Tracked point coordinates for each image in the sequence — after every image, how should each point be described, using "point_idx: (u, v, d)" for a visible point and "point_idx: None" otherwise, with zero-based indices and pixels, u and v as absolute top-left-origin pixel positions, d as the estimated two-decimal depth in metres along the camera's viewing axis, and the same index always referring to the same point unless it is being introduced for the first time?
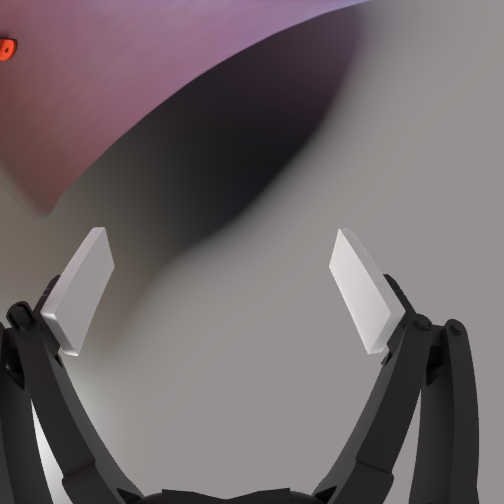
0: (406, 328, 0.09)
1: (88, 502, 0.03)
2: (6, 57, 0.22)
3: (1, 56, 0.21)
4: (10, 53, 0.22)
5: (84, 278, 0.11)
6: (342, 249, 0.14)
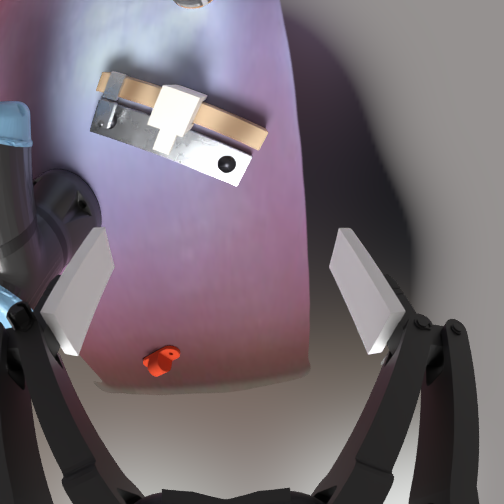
0: (406, 328, 0.09)
1: (88, 502, 0.03)
2: (177, 355, 0.57)
3: (172, 358, 0.57)
4: (177, 353, 0.56)
5: (84, 278, 0.11)
6: (342, 249, 0.14)
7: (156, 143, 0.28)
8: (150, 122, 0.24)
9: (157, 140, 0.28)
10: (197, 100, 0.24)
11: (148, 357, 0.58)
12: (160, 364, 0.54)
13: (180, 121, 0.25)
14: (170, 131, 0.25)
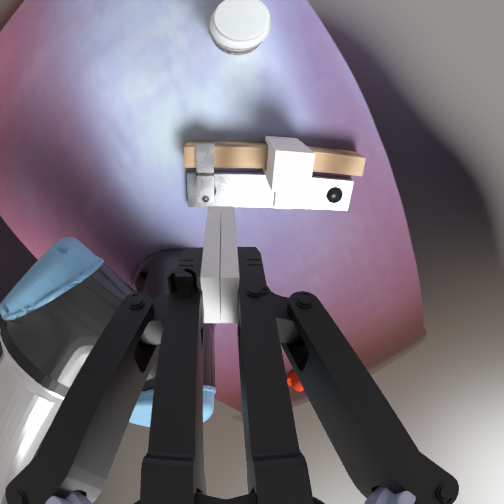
0: (240, 303, 0.10)
1: (159, 490, 0.04)
2: None
3: None
4: None
5: None
6: None
7: (276, 202, 0.32)
8: (274, 189, 0.28)
9: (276, 199, 0.32)
10: (313, 156, 0.26)
11: (289, 377, 0.63)
12: None
13: (303, 179, 0.27)
14: (296, 191, 0.28)
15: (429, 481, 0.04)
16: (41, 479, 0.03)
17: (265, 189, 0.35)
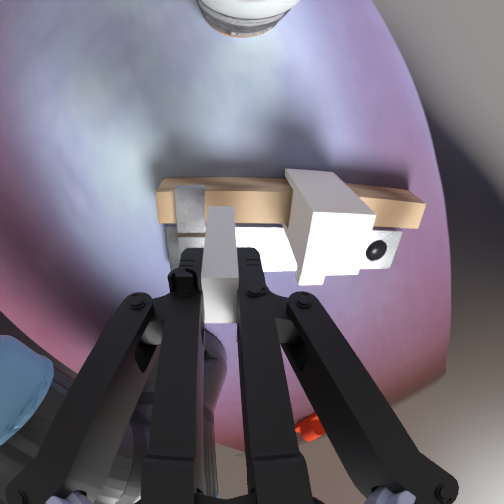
0: (239, 303, 0.10)
1: (159, 490, 0.04)
2: None
3: None
4: None
5: None
6: None
7: (302, 277, 0.21)
8: (306, 272, 0.17)
9: None
10: (373, 219, 0.15)
11: (298, 426, 0.52)
12: (315, 430, 0.48)
13: (352, 255, 0.17)
14: (339, 273, 0.17)
15: (429, 481, 0.04)
16: (41, 479, 0.03)
17: (283, 247, 0.24)
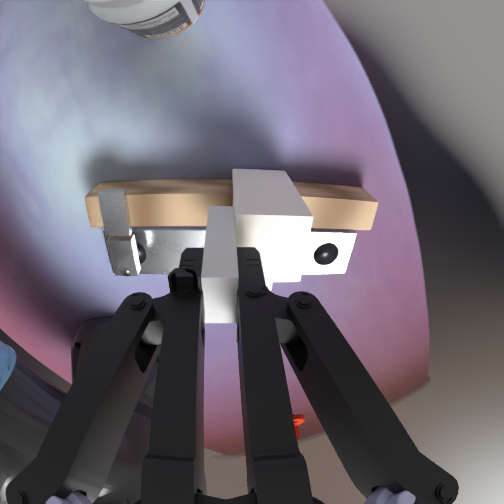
0: (239, 303, 0.10)
1: (159, 490, 0.04)
2: (302, 420, 0.48)
3: (297, 424, 0.49)
4: (301, 419, 0.48)
5: None
6: None
7: None
8: None
9: None
10: (310, 221, 0.14)
11: None
12: None
13: (290, 261, 0.16)
14: (278, 280, 0.17)
15: (429, 481, 0.04)
16: (41, 479, 0.03)
17: None
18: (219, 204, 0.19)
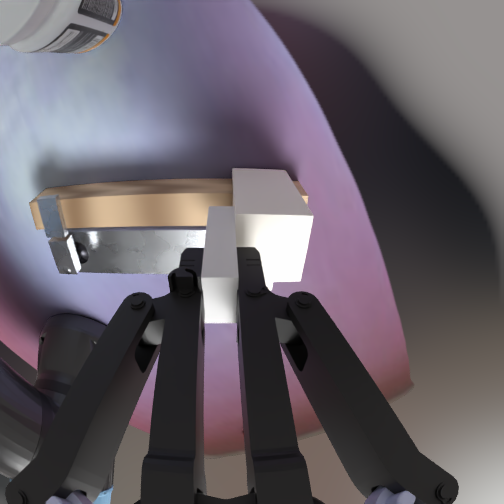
0: (239, 303, 0.10)
1: (159, 490, 0.04)
2: None
3: None
4: None
5: None
6: None
7: None
8: None
9: None
10: (310, 221, 0.14)
11: None
12: None
13: (290, 261, 0.16)
14: (278, 279, 0.16)
15: (429, 481, 0.04)
16: (41, 479, 0.03)
17: (150, 250, 0.23)
18: (136, 205, 0.18)
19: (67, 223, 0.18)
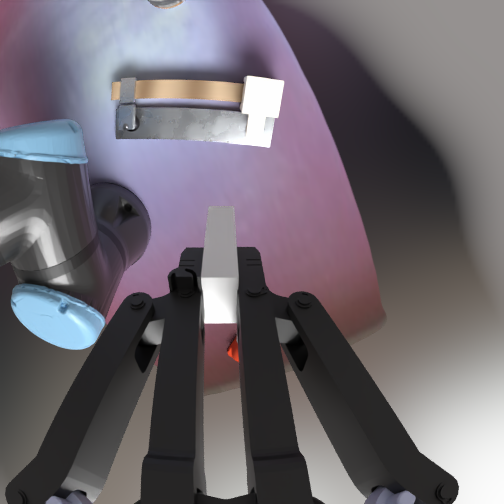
0: (239, 303, 0.10)
1: (159, 490, 0.04)
2: None
3: None
4: None
5: None
6: None
7: (248, 131, 0.31)
8: (244, 110, 0.27)
9: (248, 128, 0.31)
10: (282, 83, 0.26)
11: (230, 347, 0.61)
12: None
13: (272, 104, 0.27)
14: (265, 115, 0.28)
15: (429, 481, 0.04)
16: (41, 479, 0.03)
17: (183, 121, 0.34)
18: (185, 85, 0.29)
19: (136, 95, 0.29)
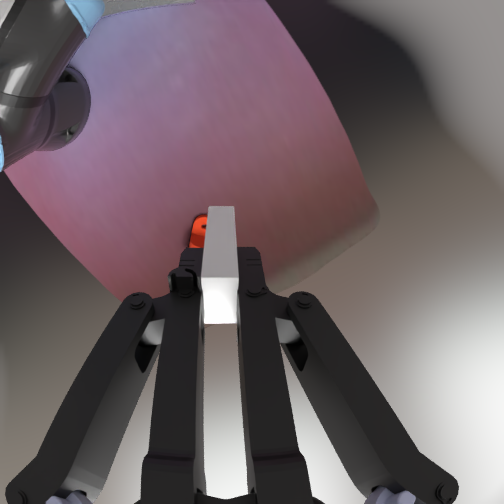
0: (239, 303, 0.10)
1: (159, 490, 0.04)
2: None
3: None
4: None
5: None
6: None
7: None
8: None
9: None
10: None
11: None
12: (194, 242, 0.47)
13: None
14: None
15: (429, 481, 0.04)
16: (41, 479, 0.03)
17: None
18: None
19: None
